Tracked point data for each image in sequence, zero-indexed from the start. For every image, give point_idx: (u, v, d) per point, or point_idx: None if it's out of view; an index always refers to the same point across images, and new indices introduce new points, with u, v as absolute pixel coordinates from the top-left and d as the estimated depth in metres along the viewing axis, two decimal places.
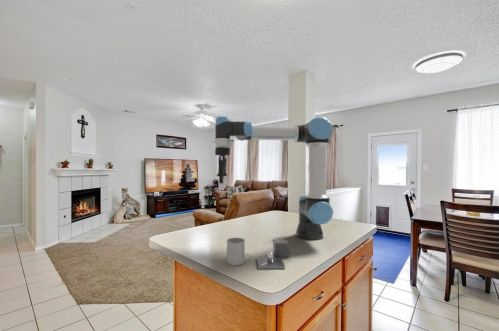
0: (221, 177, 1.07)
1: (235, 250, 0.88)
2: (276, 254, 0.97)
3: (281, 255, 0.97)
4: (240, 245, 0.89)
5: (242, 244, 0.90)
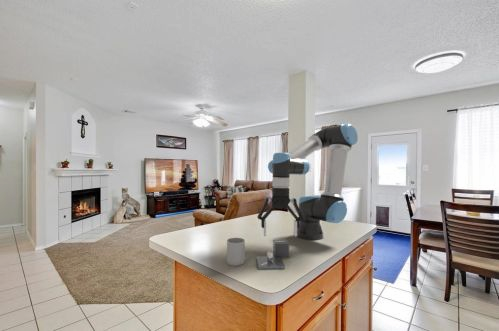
0: (261, 221, 0.99)
1: (235, 250, 0.88)
2: (276, 254, 0.97)
3: (281, 255, 0.97)
4: (240, 245, 0.89)
5: (242, 244, 0.90)
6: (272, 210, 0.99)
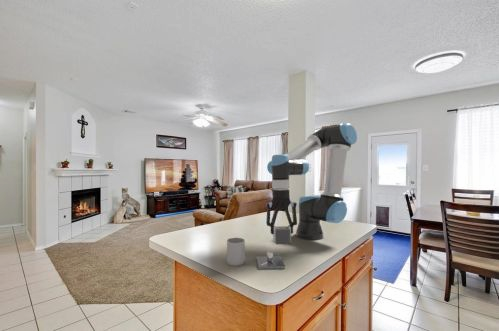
0: None
1: (235, 250, 0.88)
2: (277, 240, 0.97)
3: (282, 241, 0.97)
4: (240, 245, 0.89)
5: (242, 244, 0.90)
6: None
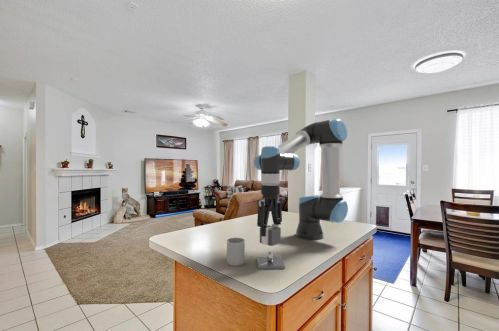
0: (262, 229, 0.87)
1: (235, 250, 0.88)
2: (272, 242, 0.87)
3: (275, 242, 0.88)
4: (240, 245, 0.89)
5: (242, 244, 0.90)
6: None
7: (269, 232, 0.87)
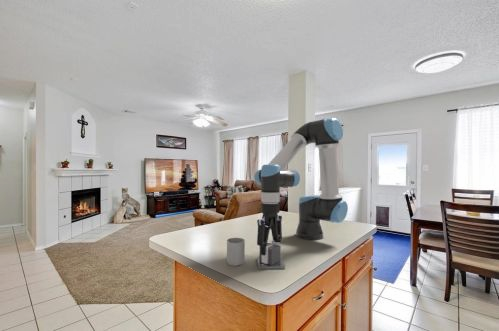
0: (262, 248, 0.87)
1: (235, 250, 0.88)
2: (272, 261, 0.87)
3: (275, 260, 0.88)
4: (240, 245, 0.89)
5: (242, 244, 0.90)
6: (269, 230, 0.88)
7: (269, 251, 0.87)
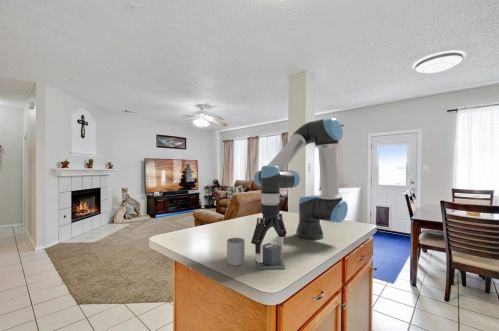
0: (257, 246, 0.84)
1: (235, 250, 0.88)
2: (272, 261, 0.87)
3: (275, 260, 0.88)
4: (240, 245, 0.89)
5: (242, 244, 0.90)
6: (266, 231, 0.87)
7: (269, 251, 0.87)
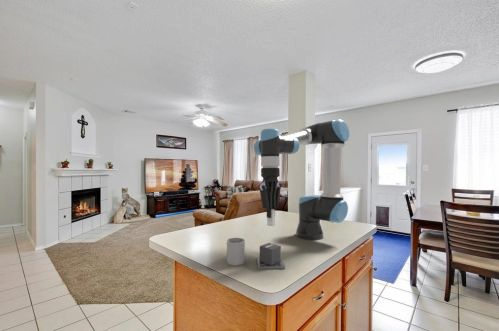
0: (268, 211, 0.90)
1: (235, 250, 0.88)
2: (272, 261, 0.87)
3: (275, 260, 0.88)
4: (240, 245, 0.89)
5: (242, 244, 0.90)
6: (271, 194, 0.90)
7: (269, 251, 0.87)
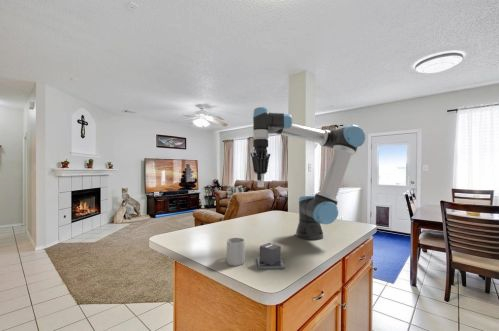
0: (258, 174, 1.10)
1: (235, 250, 0.88)
2: (272, 261, 0.87)
3: (275, 260, 0.88)
4: (240, 245, 0.89)
5: (242, 244, 0.90)
6: (261, 161, 1.10)
7: (269, 251, 0.87)
